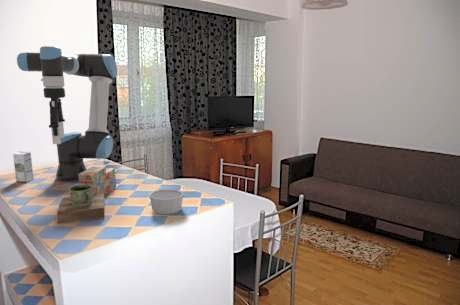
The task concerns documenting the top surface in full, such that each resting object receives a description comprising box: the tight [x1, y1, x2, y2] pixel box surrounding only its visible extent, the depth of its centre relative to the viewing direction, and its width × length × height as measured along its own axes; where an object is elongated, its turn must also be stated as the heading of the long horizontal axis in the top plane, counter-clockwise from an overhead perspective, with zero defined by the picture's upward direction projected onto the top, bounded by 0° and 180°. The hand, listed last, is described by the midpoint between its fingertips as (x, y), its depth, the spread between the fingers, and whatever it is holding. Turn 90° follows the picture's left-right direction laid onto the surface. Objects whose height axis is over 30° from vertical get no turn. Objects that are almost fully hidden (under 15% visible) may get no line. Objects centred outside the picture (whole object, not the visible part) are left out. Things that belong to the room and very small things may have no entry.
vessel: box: [68, 183, 93, 206], centre depth 141 cm, size 12×9×6 cm
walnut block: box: [56, 194, 106, 224], centre depth 142 cm, size 16×16×5 cm
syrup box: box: [12, 150, 35, 183], centre depth 181 cm, size 6×6×14 cm
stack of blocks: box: [78, 166, 117, 196], centre depth 164 cm, size 21×6×12 cm, turn 172°
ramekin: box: [149, 188, 184, 216], centre depth 146 cm, size 13×13×7 cm
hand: (58, 140), depth 147 cm, fingers open, 13 cm apart
